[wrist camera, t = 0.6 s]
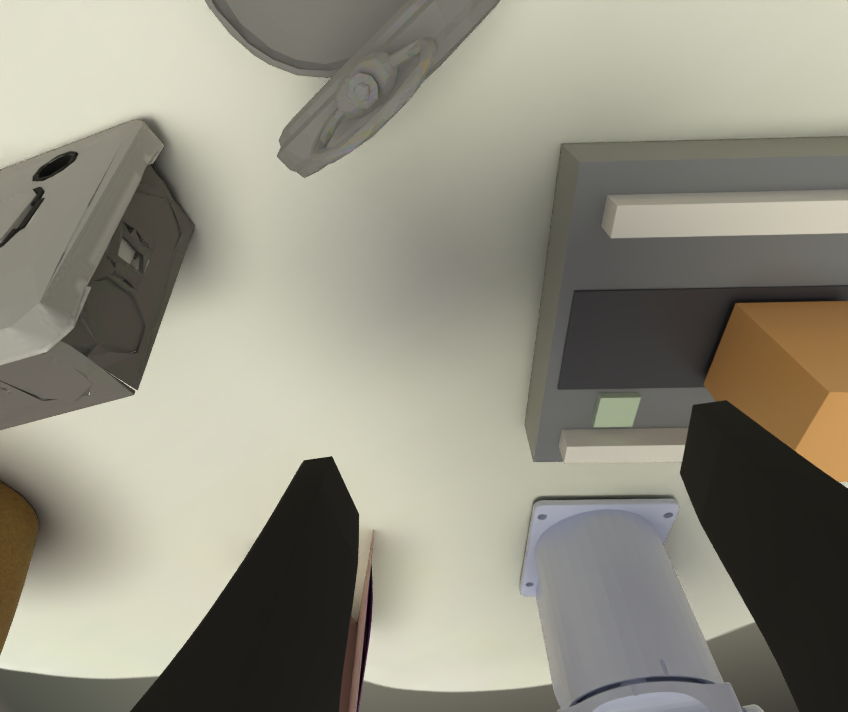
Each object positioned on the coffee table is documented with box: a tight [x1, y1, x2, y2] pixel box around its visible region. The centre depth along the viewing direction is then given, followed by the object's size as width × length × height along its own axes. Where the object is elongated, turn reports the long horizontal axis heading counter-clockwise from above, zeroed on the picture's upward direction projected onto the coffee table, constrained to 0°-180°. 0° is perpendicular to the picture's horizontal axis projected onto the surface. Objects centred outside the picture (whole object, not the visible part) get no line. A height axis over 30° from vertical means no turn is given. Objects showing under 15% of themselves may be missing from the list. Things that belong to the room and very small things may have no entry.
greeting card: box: [339, 531, 374, 712], centre depth 26 cm, size 11×7×15 cm, turn 171°
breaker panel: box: [525, 137, 848, 463], centre depth 19 cm, size 13×16×3 cm
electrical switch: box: [0, 120, 195, 430], centre depth 15 cm, size 9×5×9 cm, turn 107°
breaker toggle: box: [703, 301, 848, 482], centre depth 16 cm, size 4×4×5 cm
